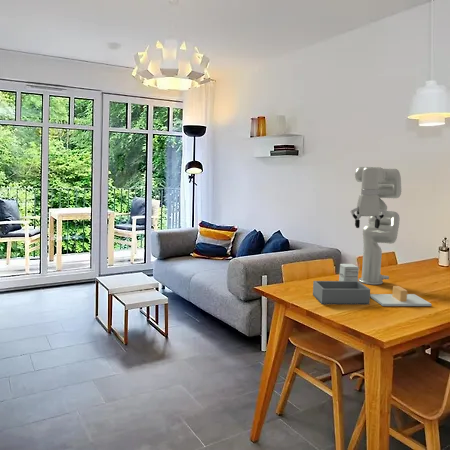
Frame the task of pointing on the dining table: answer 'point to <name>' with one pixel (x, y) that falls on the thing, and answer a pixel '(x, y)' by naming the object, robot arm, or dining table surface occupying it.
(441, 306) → the dining table surface
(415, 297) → the lid
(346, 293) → the tub
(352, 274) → the supplement box
